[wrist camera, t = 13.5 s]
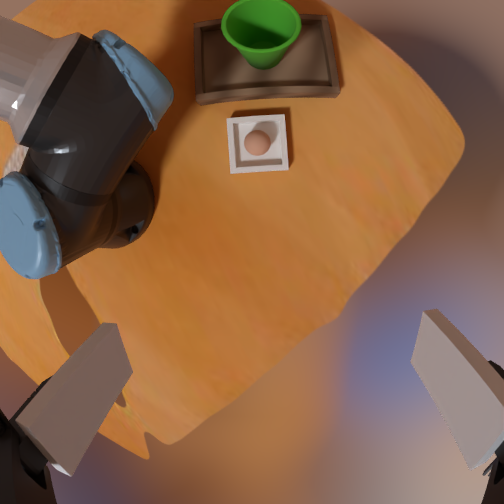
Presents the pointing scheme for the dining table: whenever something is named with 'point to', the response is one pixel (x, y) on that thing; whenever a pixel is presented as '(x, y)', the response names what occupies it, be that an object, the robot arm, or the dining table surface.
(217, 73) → the tray
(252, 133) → the ball
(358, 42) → the dining table surface
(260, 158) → the dish
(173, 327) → the dining table surface
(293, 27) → the cup
